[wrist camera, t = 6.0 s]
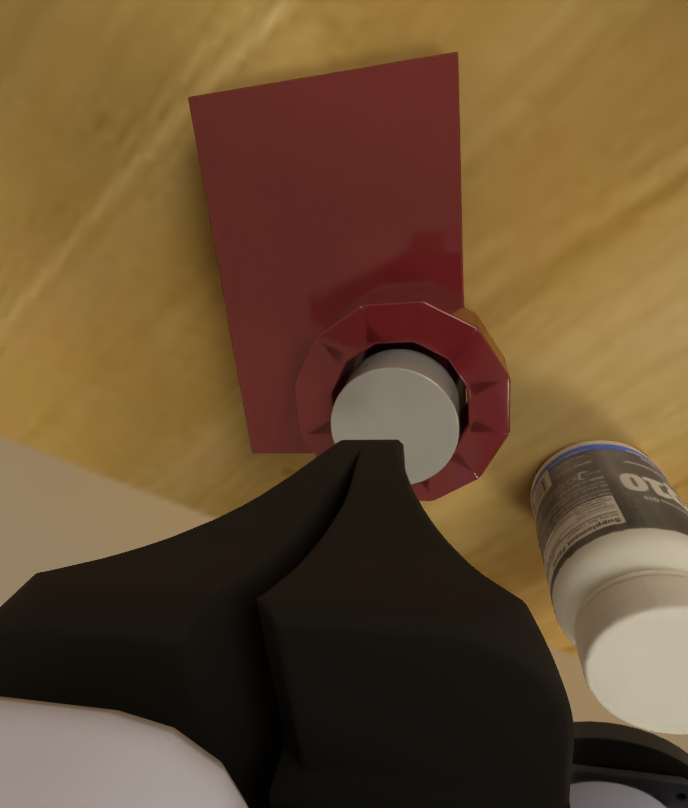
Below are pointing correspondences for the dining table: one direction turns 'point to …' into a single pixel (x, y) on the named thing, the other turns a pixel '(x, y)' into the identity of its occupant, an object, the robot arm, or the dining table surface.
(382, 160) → the red socket plate
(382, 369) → the light grey cylinder
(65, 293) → the dining table surface
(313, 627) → the robot arm
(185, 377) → the dining table surface
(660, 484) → the pill bottle
